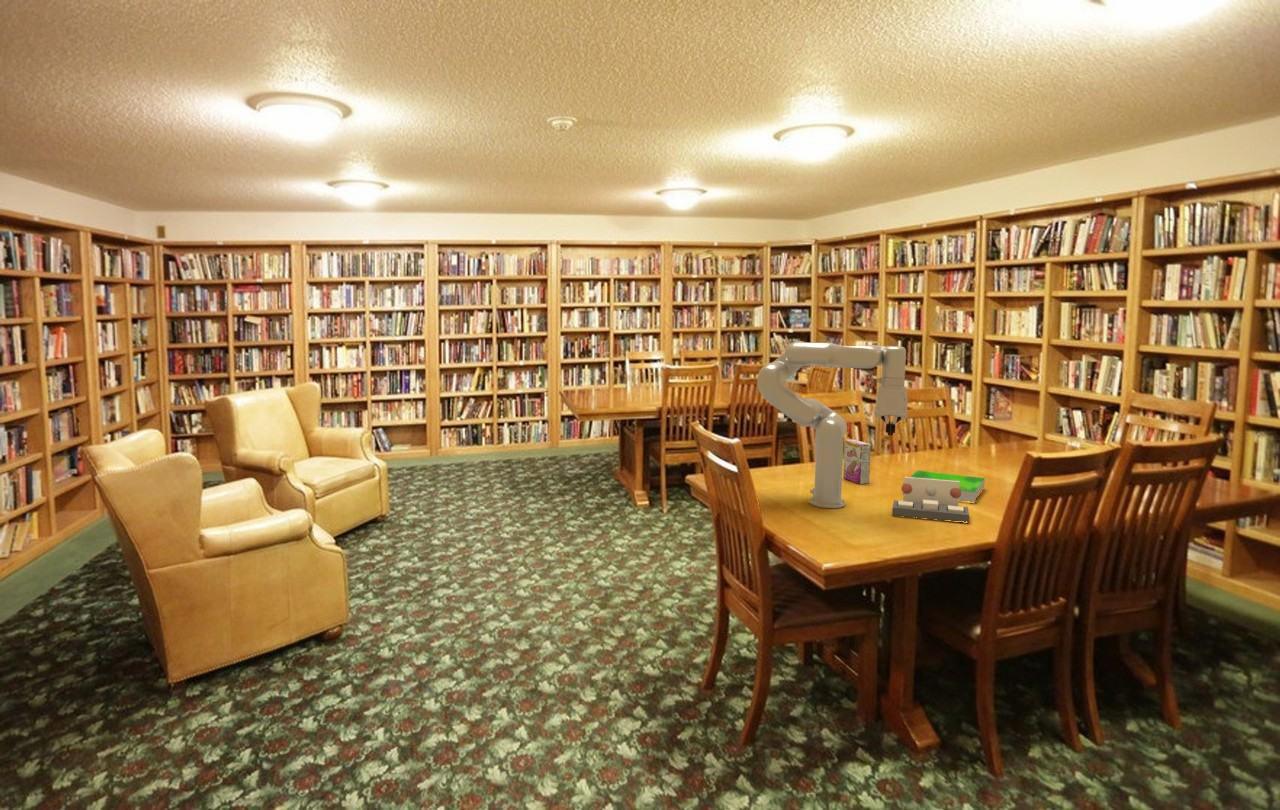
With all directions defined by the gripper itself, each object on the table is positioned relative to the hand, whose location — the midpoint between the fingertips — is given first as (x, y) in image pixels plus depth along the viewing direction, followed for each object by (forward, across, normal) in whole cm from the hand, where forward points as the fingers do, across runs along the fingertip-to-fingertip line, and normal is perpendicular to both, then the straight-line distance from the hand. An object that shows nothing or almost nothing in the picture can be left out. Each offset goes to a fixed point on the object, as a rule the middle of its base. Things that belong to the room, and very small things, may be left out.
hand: (890, 434), depth 253 cm
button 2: (+26, +22, -1) cm, 35 cm away
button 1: (+26, +6, -1) cm, 27 cm away
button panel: (+27, +14, 0) cm, 31 cm away
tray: (+28, +19, +35) cm, 48 cm away
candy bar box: (+27, -14, +40) cm, 50 cm away
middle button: (+25, +14, -1) cm, 29 cm away
